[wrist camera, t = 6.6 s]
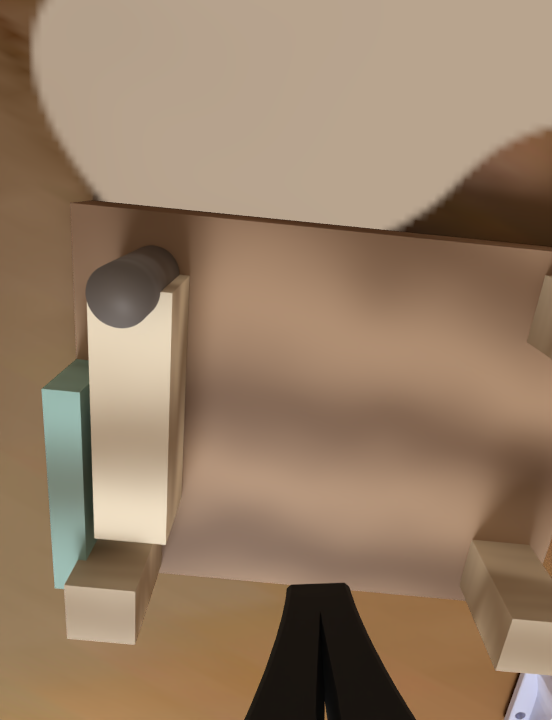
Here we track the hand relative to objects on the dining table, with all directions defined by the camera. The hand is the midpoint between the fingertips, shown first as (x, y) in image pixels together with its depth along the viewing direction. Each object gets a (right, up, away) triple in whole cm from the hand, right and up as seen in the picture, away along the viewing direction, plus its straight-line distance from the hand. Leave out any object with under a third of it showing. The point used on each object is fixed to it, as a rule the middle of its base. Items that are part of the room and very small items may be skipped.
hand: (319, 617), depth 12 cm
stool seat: (+1, +4, +10) cm, 10 cm away
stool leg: (-6, +5, +7) cm, 10 cm away
